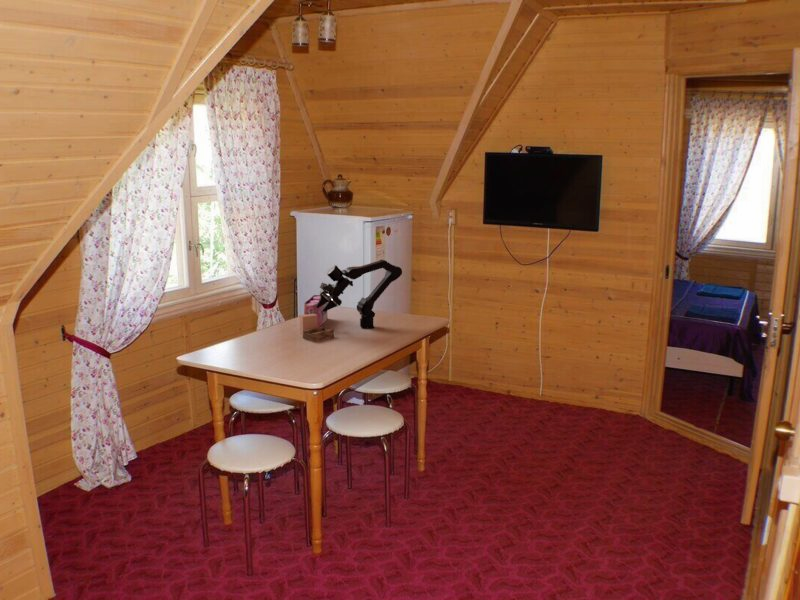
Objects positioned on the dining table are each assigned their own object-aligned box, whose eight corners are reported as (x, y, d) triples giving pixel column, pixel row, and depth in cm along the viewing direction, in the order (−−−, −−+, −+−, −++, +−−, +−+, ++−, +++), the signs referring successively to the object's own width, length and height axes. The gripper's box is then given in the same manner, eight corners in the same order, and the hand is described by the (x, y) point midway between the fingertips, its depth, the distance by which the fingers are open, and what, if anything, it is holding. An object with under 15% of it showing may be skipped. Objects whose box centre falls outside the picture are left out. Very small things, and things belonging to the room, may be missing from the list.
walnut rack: (323, 333, 382) (323, 326, 382) (334, 337, 376) (333, 329, 375) (302, 338, 374) (302, 330, 373) (313, 341, 367) (313, 334, 366)
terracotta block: (314, 332, 386) (314, 313, 384) (317, 334, 382) (317, 315, 380) (300, 333, 383) (299, 314, 381) (303, 335, 379) (302, 316, 377)
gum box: (317, 329, 392) (317, 304, 389) (303, 328, 393) (302, 303, 390) (327, 318, 416) (327, 295, 413) (314, 318, 417) (313, 294, 414)
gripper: (323, 274, 390) (303, 296, 387) (335, 280, 373) (315, 303, 371) (337, 287, 395) (317, 309, 392) (350, 294, 378) (330, 317, 376)
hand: (319, 309), depth 383 cm, fingers open, 9 cm apart
